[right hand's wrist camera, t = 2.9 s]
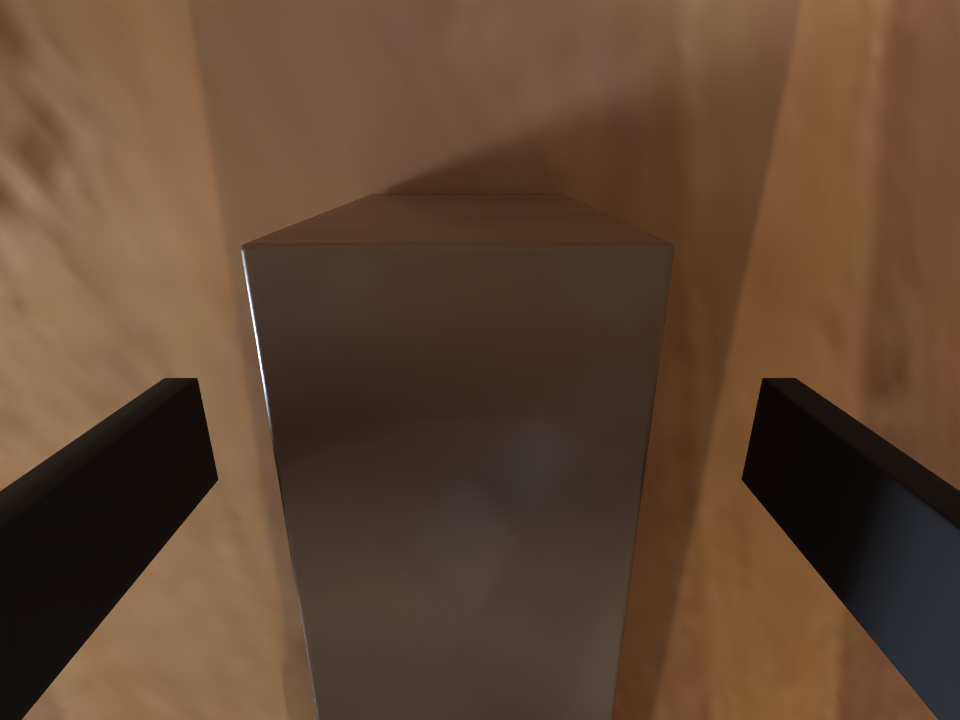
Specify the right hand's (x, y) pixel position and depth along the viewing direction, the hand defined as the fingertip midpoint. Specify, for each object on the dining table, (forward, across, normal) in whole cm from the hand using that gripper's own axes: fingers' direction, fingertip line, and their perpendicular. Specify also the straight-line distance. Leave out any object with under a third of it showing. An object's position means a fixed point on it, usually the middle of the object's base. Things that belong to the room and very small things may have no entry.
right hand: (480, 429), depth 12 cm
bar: (+4, 0, -36) cm, 37 cm away
